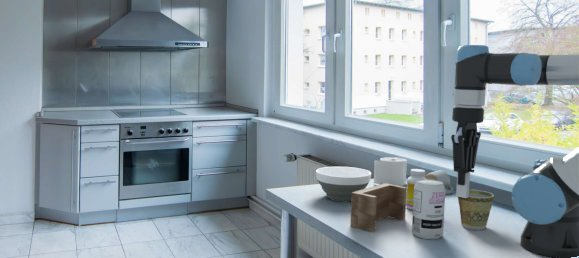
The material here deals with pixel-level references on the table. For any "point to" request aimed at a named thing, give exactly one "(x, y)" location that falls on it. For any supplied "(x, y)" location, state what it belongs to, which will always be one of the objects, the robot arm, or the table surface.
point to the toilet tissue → (390, 171)
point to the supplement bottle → (411, 181)
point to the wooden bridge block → (377, 205)
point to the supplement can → (428, 209)
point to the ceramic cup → (475, 209)
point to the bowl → (342, 181)
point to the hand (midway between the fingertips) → (462, 196)
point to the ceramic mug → (441, 179)
